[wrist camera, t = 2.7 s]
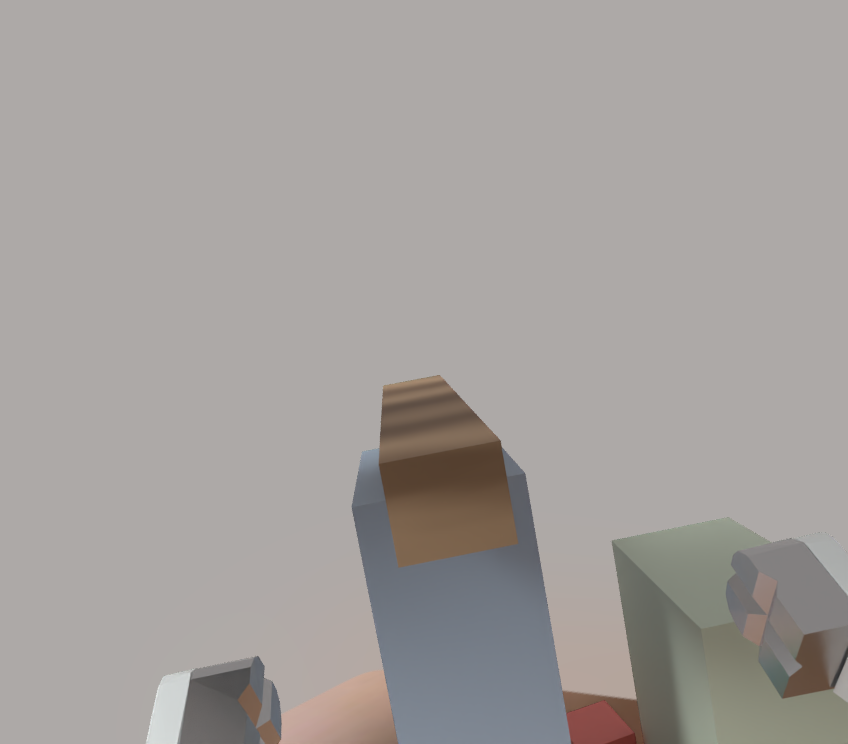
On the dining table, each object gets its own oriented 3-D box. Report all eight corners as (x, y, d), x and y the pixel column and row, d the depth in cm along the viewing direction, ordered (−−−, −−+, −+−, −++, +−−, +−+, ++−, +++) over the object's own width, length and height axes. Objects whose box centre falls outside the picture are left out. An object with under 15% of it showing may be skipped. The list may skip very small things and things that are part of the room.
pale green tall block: (748, 950, 32) (701, 628, 30) (649, 777, 44) (611, 540, 42) (901, 915, 32) (862, 595, 30) (761, 753, 44) (728, 517, 42)
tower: (452, 1018, 31) (351, 506, 29) (434, 824, 43) (362, 451, 40) (611, 982, 31) (525, 473, 29) (549, 799, 43) (484, 428, 41)
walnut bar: (518, 543, 21) (500, 440, 21) (398, 567, 21) (378, 464, 20) (448, 423, 45) (439, 375, 44) (392, 434, 45) (383, 385, 44)
